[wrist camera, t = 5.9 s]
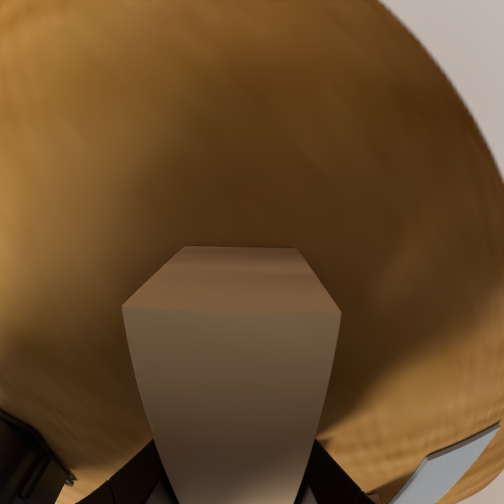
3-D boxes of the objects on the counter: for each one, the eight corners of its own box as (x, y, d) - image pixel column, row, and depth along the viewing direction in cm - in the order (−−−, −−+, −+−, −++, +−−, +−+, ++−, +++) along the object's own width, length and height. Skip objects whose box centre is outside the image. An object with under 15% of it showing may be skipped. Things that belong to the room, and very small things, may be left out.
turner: (133, 245, 7) (45, 296, 4) (349, 249, 7) (429, 308, 4) (183, 488, 10) (172, 546, 7) (297, 492, 10) (305, 551, 7)
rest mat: (359, 532, 13) (359, 535, 13) (425, 456, 10) (428, 461, 10) (422, 511, 13) (423, 514, 13) (497, 423, 10) (500, 426, 10)
